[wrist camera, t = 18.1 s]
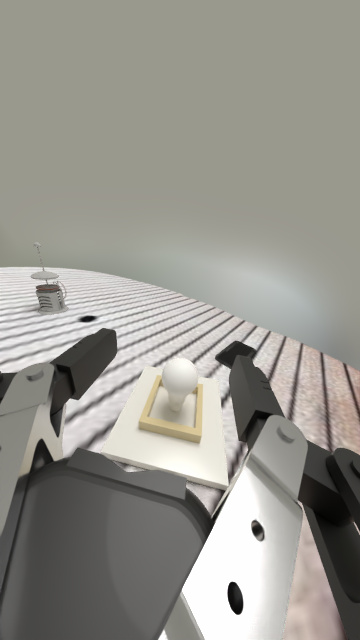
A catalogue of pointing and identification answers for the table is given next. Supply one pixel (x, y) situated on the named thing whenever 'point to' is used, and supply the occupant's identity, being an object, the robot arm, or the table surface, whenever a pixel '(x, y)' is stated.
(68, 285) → the table surface
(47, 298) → the french press
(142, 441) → the lamp base
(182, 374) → the lightbulb
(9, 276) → the table surface
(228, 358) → the phone
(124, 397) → the table surface
